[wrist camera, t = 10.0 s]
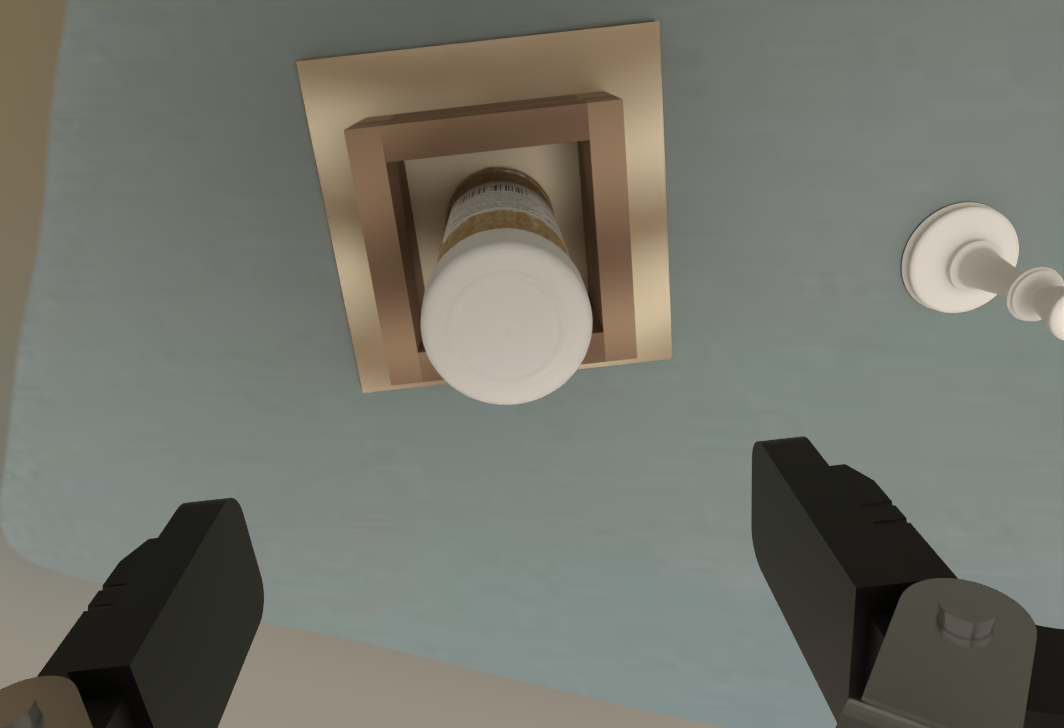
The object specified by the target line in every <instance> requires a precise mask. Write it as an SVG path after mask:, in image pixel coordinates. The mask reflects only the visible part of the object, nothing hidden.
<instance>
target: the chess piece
mask: <svg viewBox="0 0 1064 728" xmlns="http://www.w3.org/2000/svg"><path fill="white" fill-rule="evenodd" d="M1018 254H1019V243H1018V238H1017V234H1016V232H1015V229H1014V227H1013V226H1012V224H1011V223H1010V222H1009V220H1008V219H1007V218H1006V217H1005V216H1003V215H1002V214H1001V213H999V212H997V211H996V210H994V209H993V208H991V207H989V206H987V205H984V204H980V203H974V202H964V203H957V204H953V205H950V206H947V207H944V208H942V209H940V210H938V211H937V212H935V213H933V214H932V215H931V216H929V217H928V218H927V219H925V220H924V221H923V222H922V223H921V224H920V225H919V226H918V228H917V229H916V230H915V231H914V233H913V234H912V236H911V237H910V239H909V241H908V243H907V245H906V248H905V251H904V254H903V258H902V277H903V281H904V284H905V287H906V289H907V291H908V292H909V294H910V295H911V296H912V297H913V298H914V299H915V300H916V301H917V302H918V303H920V304H921V305H923V306H925V307H928V308H930V309H934V310H937V311H940V312H946V313H960V312H965V311H969V310H972V309H975V308H977V307H979V306H982V305H983V304H985V303H987V302H988V301H990V300H991V299H992V298H994V297H995V296H996V295H997V294H998V295H1001V296H1005V297H1007V298H1006V302H1007V307H1008V310H1009V312H1010V313H1011V314H1012V315H1013V316H1014V317H1015V318H1017V319H1019V320H1023V321H1038V320H1042V319H1043V321H1044V322H1045V325H1046V326H1047V328H1048V329H1049V330H1050V332H1051V333H1052V334H1053V335H1054V336H1056V337H1057V338H1059V339H1061V340H1064V281H1063V279H1062V277H1061V276H1060V275H1059V274H1058V273H1057V272H1056V271H1055V270H1053V269H1051V268H1047V267H1036V268H1032V269H1029V270H1027V271H1025V272H1021V271H1020V270H1019V269H1017V268H1016V264H1017V260H1018Z"/></svg>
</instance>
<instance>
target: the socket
mask: <svg viewBox="0 0 1064 728" xmlns="http://www.w3.org/2000/svg"><path fill="white" fill-rule="evenodd" d="M296 65H297V70H298V75H299V80H300V85H301V90H302V95H303V100H304V105H305V110H306V115H307V120H308V125H309V130H310V134H311V139H312V144H313V149H314V154H315V159H316V164H317V169H318V174H319V179H320V184H321V189H322V194H323V199H324V204H325V209H326V214H327V219H328V224H329V228H330V233H331V238H332V243H333V248H334V253H335V258H336V263H337V268H338V273H339V278H340V283H341V288H342V293H343V298H344V303H345V308H346V313H347V318H348V322H349V327H350V332H351V337H352V342H353V347H354V352H355V357H356V362H357V367H358V372H359V377H360V382H361V387H362V392H363V393H368V392H377V391H386V390H395V389H404V388H413V387H422V386H431V385H440V384H448V383H447V382H446V381H445V380H444V379H443V378H442V377H441V375H440V374H439V373H438V372H437V371H436V369H435V368H434V366H433V365H432V363H431V362H430V360H429V358H428V356H427V354H426V351H425V348H424V345H423V341H422V336H421V322H420V320H421V309H422V303H423V297H424V293H425V289H426V285H427V282H428V280H429V277H430V275H431V273H432V271H433V269H434V267H435V265H436V264H437V261H438V251H439V247H440V242H441V238H442V235H443V232H444V230H445V228H446V226H445V220H446V211H447V206H448V203H449V201H450V199H451V197H452V195H453V194H454V192H455V190H456V189H457V187H458V186H459V185H461V184H462V183H463V182H464V181H465V180H466V179H467V178H468V177H470V176H471V175H473V174H475V173H477V172H480V171H482V170H485V169H489V168H508V169H515V170H518V171H520V172H523V173H525V174H527V175H528V176H530V177H532V178H533V179H534V180H535V181H536V182H538V183H539V184H540V185H541V187H542V188H543V190H544V191H545V192H546V194H547V195H548V196H549V199H550V201H551V204H552V207H553V210H554V216H555V219H556V221H557V224H558V226H559V229H560V232H561V235H562V238H563V241H564V243H565V246H566V249H567V251H568V254H569V258H570V259H571V261H572V262H573V263H574V264H575V266H576V268H577V269H578V271H579V273H580V275H581V277H582V280H583V283H584V285H585V288H586V291H587V294H588V297H589V301H590V305H591V310H592V318H593V324H592V335H591V341H590V344H589V347H588V350H587V353H586V356H585V357H584V359H583V361H582V363H581V364H580V366H579V367H578V369H585V368H594V367H603V366H612V365H621V364H630V363H639V362H648V361H657V360H666V359H672V341H671V314H670V287H669V260H668V233H667V206H666V180H665V153H664V126H663V99H662V72H661V45H660V21H656V22H647V23H638V24H629V25H620V26H611V27H602V28H593V29H584V30H575V31H566V32H557V33H548V34H539V35H530V36H521V37H512V38H503V39H494V40H485V41H476V42H466V43H457V44H448V45H439V46H430V47H421V48H412V49H403V50H394V51H385V52H376V53H367V54H358V55H349V56H340V57H331V58H322V59H313V60H304V61H296Z"/></svg>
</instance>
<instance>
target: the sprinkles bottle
mask: <svg viewBox="0 0 1064 728" xmlns="http://www.w3.org/2000/svg"><path fill="white" fill-rule="evenodd" d="M445 226H446V228H445V230H444V232H443V235H442V238H441V242H440V247H439V251H438V261H437V264H436V265H435V267H434V269H433V271H432V273H431V275H430V277H429V280H428V282H427V285H426V289H425V293H424V297H423V303H422V309H421V320H420V322H421V336H422V341H423V345H424V348H425V351H426V354H427V356H428V358H429V360H430V362H431V363H432V365H433V366H434V368H435V369H436V371H437V372H438V373H439V374H440V375H441V377H442V378H443V379H444V380H445V381H446V382H447V383H448V384H449V385H451V386H452V387H453V388H455V389H456V390H458V391H459V392H461V393H463V394H464V395H466V396H468V397H470V398H473V399H476V400H478V401H482V402H485V403H492V404H500V405H513V404H521V403H526V402H530V401H534V400H537V399H539V398H542V397H544V396H546V395H548V394H549V393H551V392H553V391H555V390H556V389H558V388H559V387H560V386H562V385H563V384H564V383H565V382H566V381H567V380H568V379H569V378H570V377H571V376H572V375H573V374H574V373H575V371H576V370H577V369H578V367H579V366H580V364H581V363H582V361H583V359H584V357H585V356H586V353H587V350H588V347H589V344H590V341H591V335H592V324H593V318H592V310H591V305H590V301H589V297H588V294H587V291H586V288H585V285H584V283H583V280H582V277H581V275H580V273H579V271H578V269H577V268H576V266H575V264H574V263H573V262H572V261H571V259H570V258H569V254H568V251H567V249H566V246H565V243H564V241H563V238H562V235H561V232H560V229H559V226H558V224H557V221H556V219H555V216H554V210H553V207H552V204H551V201H550V199H549V196H548V195H547V194H546V192H545V191H544V190H543V188H542V187H541V185H540V184H539V183H538V182H536V181H535V180H534V179H533V178H532V177H530V176H528V175H527V174H525V173H523V172H520V171H518V170H515V169H508V168H489V169H485V170H482V171H480V172H477V173H475V174H473V175H471V176H470V177H468V178H467V179H466V180H465V181H464V182H463V183H462V184H461V185H459V186H458V187H457V189H456V190H455V192H454V194H453V195H452V197H451V199H450V201H449V203H448V206H447V211H446V220H445Z"/></svg>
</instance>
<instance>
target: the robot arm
mask: <svg viewBox="0 0 1064 728" xmlns="http://www.w3.org/2000/svg"><path fill="white" fill-rule="evenodd" d="M752 539H753V545H754V550H755V554H756V558H757V561H758V564H759V567H760V569H761V571H762V573H763V575H764V577H765V579H766V581H767V583H768V585H769V587H770V589H771V591H772V593H773V595H774V597H775V599H776V601H777V603H778V605H779V607H780V609H781V611H782V613H783V615H784V617H785V619H786V621H787V623H788V625H789V627H790V629H791V631H792V633H793V635H794V637H795V639H796V641H797V643H798V645H799V647H800V649H801V651H802V653H803V655H804V657H805V659H806V661H807V663H808V665H809V667H810V669H811V671H812V673H813V675H814V677H815V679H816V681H817V683H818V685H819V687H820V689H821V691H822V693H823V695H824V697H825V699H826V701H827V703H828V705H829V707H830V709H831V711H832V713H833V715H834V717H835V719H836V721H837V726H836V728H1064V629H1055V628H1049V627H1043V626H1038V625H1035V623H1034V621H1033V620H1032V618H1031V616H1030V615H1029V614H1028V612H1027V611H1026V610H1025V609H1024V608H1023V607H1022V606H1021V605H1019V604H1018V603H1017V602H1016V601H1014V600H1013V599H1011V598H1010V597H1009V596H1007V595H1005V594H1003V593H1001V592H999V591H998V590H995V589H993V588H991V587H988V586H986V585H982V584H979V583H976V582H972V581H967V580H962V579H958V578H957V577H956V576H955V575H954V573H953V572H952V571H951V570H950V569H949V568H948V566H947V565H946V564H945V563H944V562H943V561H942V559H941V558H940V557H939V556H938V555H937V554H936V552H935V551H934V550H933V549H932V548H931V547H930V545H929V544H928V543H927V542H926V541H925V540H924V538H923V537H922V536H921V535H920V534H919V533H918V531H917V530H916V529H915V528H914V527H913V526H912V524H911V523H907V521H906V517H905V516H904V515H903V514H902V513H901V512H900V510H899V509H898V508H897V507H896V506H895V505H894V506H892V501H891V500H890V499H889V498H888V496H887V495H886V494H885V493H884V492H883V491H882V489H881V488H880V487H879V486H878V485H877V484H876V482H875V481H874V480H872V479H870V478H868V477H867V476H865V475H863V474H861V473H860V472H858V471H856V470H854V469H853V468H851V467H849V466H847V465H845V464H843V465H834V466H829V465H828V464H827V463H826V461H825V460H824V459H823V457H822V456H821V455H820V454H819V452H818V451H817V450H816V448H815V447H814V446H813V445H812V443H811V442H810V441H809V440H808V439H807V438H806V437H795V438H786V439H777V440H768V441H758V442H756V443H755V444H754V447H753V452H752ZM263 605H264V591H263V583H262V578H261V575H260V571H259V568H258V564H257V561H256V557H255V554H254V550H253V547H252V543H251V540H250V536H249V532H248V529H247V525H246V522H245V518H244V515H243V512H242V509H241V507H240V504H239V503H238V501H237V500H236V499H234V498H226V499H216V500H207V501H198V502H189V503H183V504H182V505H180V506H179V508H178V509H177V510H176V512H175V513H174V515H173V516H172V518H171V519H170V521H169V522H168V524H167V525H166V527H165V528H164V530H163V531H162V533H161V534H160V535H159V537H158V538H154V539H148V540H147V541H146V542H144V543H143V544H142V545H141V546H139V547H138V548H137V549H135V550H134V551H133V552H132V553H130V554H129V555H128V556H126V557H125V558H124V559H123V560H121V561H120V562H119V564H118V565H117V566H116V568H115V569H114V571H113V572H112V573H111V575H110V576H109V578H108V579H107V580H106V582H105V583H104V584H103V590H102V591H98V593H97V594H96V596H95V597H94V598H93V600H92V601H91V603H90V604H89V605H88V611H84V612H83V614H82V615H81V617H80V618H79V619H78V621H77V622H76V623H75V625H74V626H73V628H72V629H71V630H70V632H69V633H68V635H67V636H66V637H65V639H64V640H63V641H62V643H61V644H60V646H59V647H58V648H57V650H56V651H55V653H54V654H53V655H52V657H51V658H50V660H49V661H48V662H47V664H46V665H45V667H44V668H43V669H42V671H41V672H40V673H39V675H38V676H37V677H34V678H30V679H26V680H23V681H20V682H17V683H14V684H12V685H9V686H7V687H5V688H2V689H0V728H218V725H219V722H220V720H221V718H222V715H223V713H224V710H225V708H226V705H227V703H228V700H229V698H230V696H231V693H232V690H233V688H234V686H235V683H236V681H237V678H238V676H239V673H240V671H241V668H242V666H243V663H244V661H245V658H246V656H247V653H248V651H249V649H250V646H251V644H252V641H253V639H254V636H255V634H256V631H257V629H258V626H259V624H260V621H261V618H262V613H263Z"/></svg>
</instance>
